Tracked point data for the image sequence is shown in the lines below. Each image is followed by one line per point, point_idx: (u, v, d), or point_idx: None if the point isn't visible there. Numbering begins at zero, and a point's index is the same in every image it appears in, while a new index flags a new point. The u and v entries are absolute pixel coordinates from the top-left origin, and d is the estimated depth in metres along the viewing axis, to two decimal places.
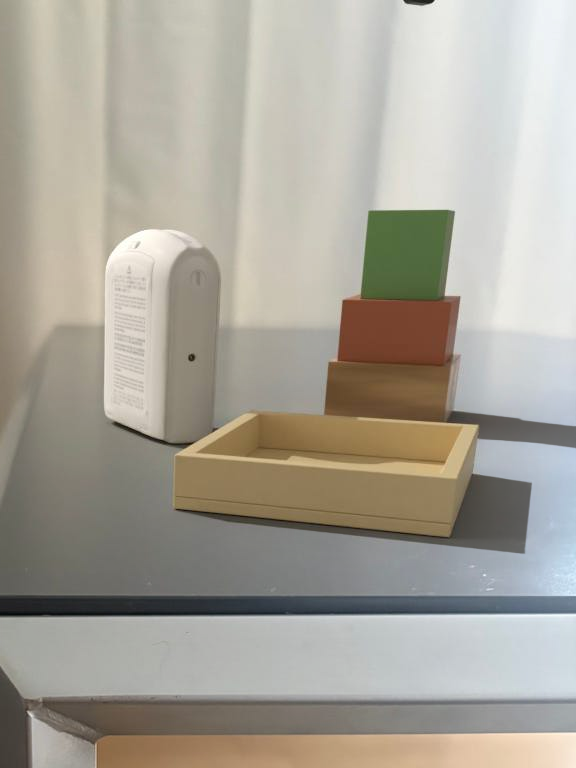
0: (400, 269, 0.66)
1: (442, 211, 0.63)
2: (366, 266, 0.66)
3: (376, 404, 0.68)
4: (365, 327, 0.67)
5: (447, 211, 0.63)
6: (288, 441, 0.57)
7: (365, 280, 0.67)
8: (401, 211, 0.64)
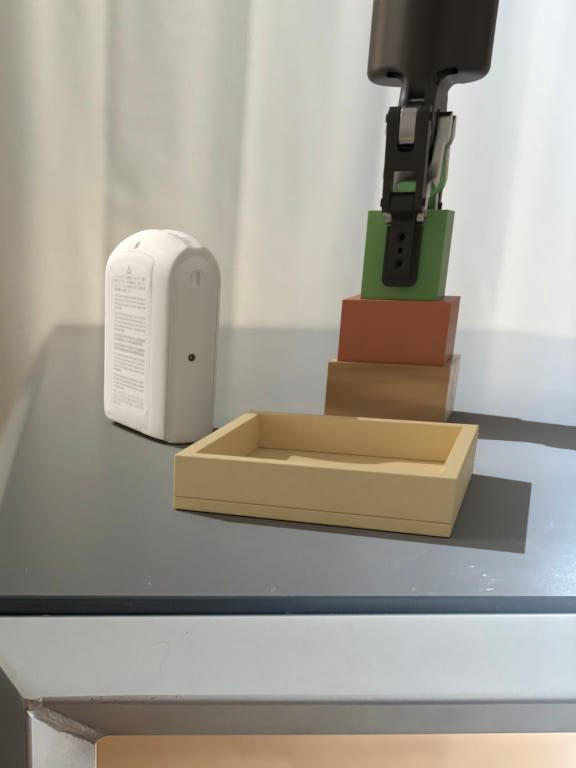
0: None
1: (442, 211, 0.63)
2: (365, 266, 0.66)
3: (376, 404, 0.68)
4: (365, 327, 0.67)
5: (447, 211, 0.63)
6: (288, 441, 0.57)
7: (364, 280, 0.67)
8: None
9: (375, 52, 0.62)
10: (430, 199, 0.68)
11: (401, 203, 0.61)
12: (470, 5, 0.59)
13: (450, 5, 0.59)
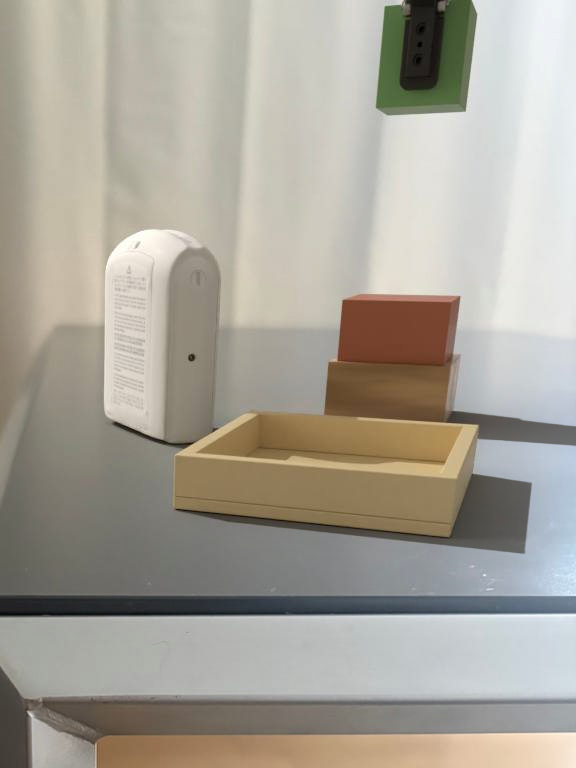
0: None
1: (465, 0, 0.59)
2: (381, 70, 0.62)
3: (376, 404, 0.68)
4: (365, 327, 0.67)
5: (470, 0, 0.59)
6: (288, 441, 0.57)
7: (380, 86, 0.62)
8: None
9: None
10: None
11: None
12: None
13: None
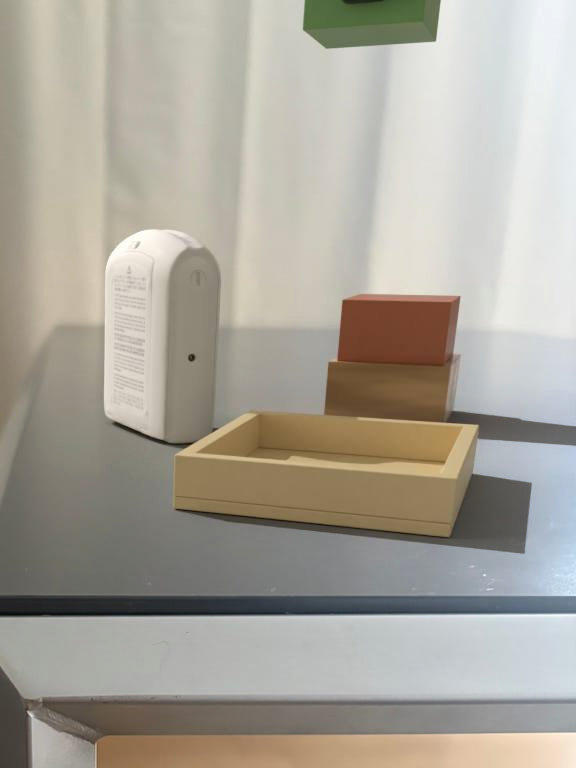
0: None
1: None
2: None
3: (376, 404, 0.68)
4: (365, 327, 0.67)
5: None
6: (288, 441, 0.57)
7: None
8: None
9: None
10: None
11: None
12: None
13: None
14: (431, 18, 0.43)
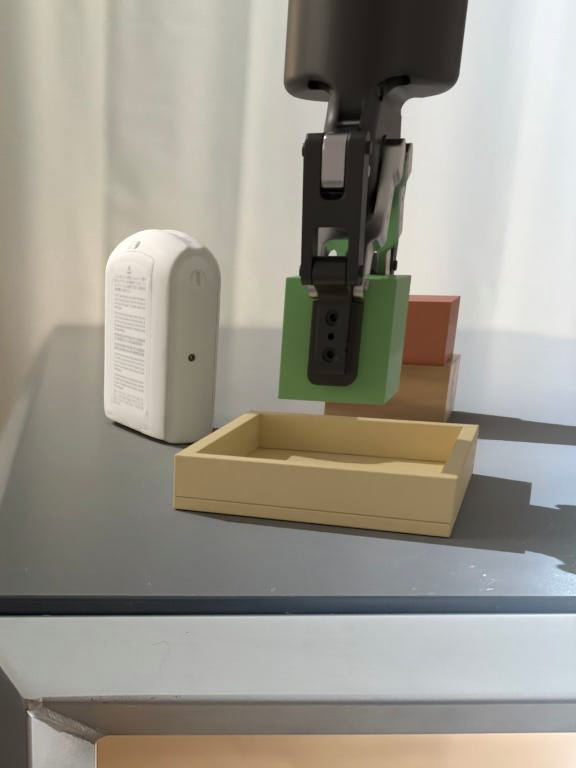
0: None
1: (389, 281, 0.44)
2: (284, 354, 0.47)
3: None
4: None
5: (396, 281, 0.44)
6: (288, 441, 0.57)
7: (283, 373, 0.47)
8: None
9: (292, 53, 0.43)
10: (378, 258, 0.48)
11: (328, 273, 0.42)
12: None
13: None
14: (392, 386, 0.48)
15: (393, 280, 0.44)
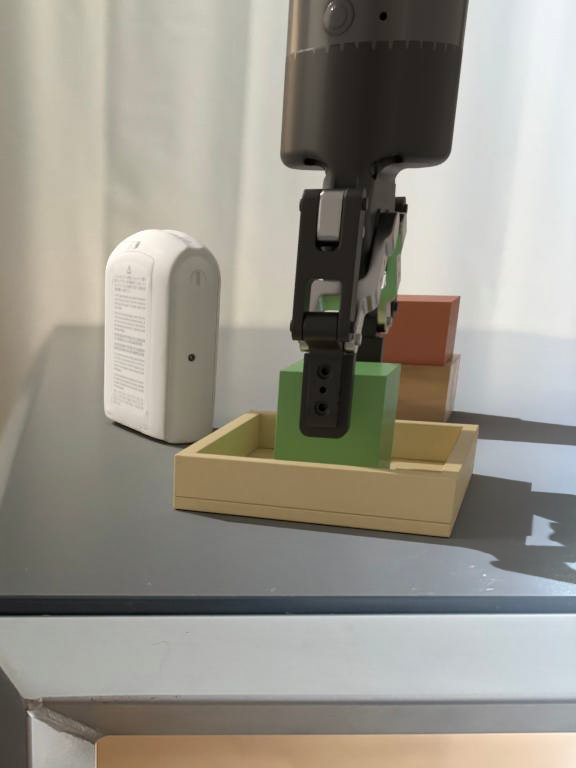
0: (324, 449, 0.48)
1: (379, 377, 0.46)
2: (278, 442, 0.49)
3: None
4: None
5: (386, 377, 0.46)
6: None
7: None
8: None
9: (289, 130, 0.44)
10: (378, 309, 0.50)
11: (319, 329, 0.42)
12: (418, 67, 0.41)
13: (389, 68, 0.40)
14: None
15: (383, 376, 0.46)
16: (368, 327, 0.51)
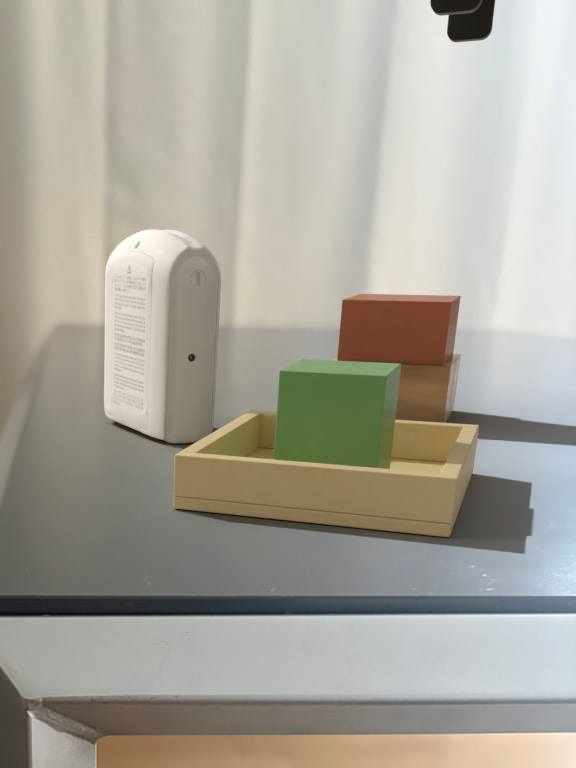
0: (324, 449, 0.48)
1: (379, 377, 0.46)
2: (278, 442, 0.49)
3: None
4: (365, 327, 0.67)
5: (386, 377, 0.46)
6: None
7: None
8: (324, 374, 0.47)
9: None
10: None
11: None
12: None
13: None
14: None
15: (383, 376, 0.46)
16: None
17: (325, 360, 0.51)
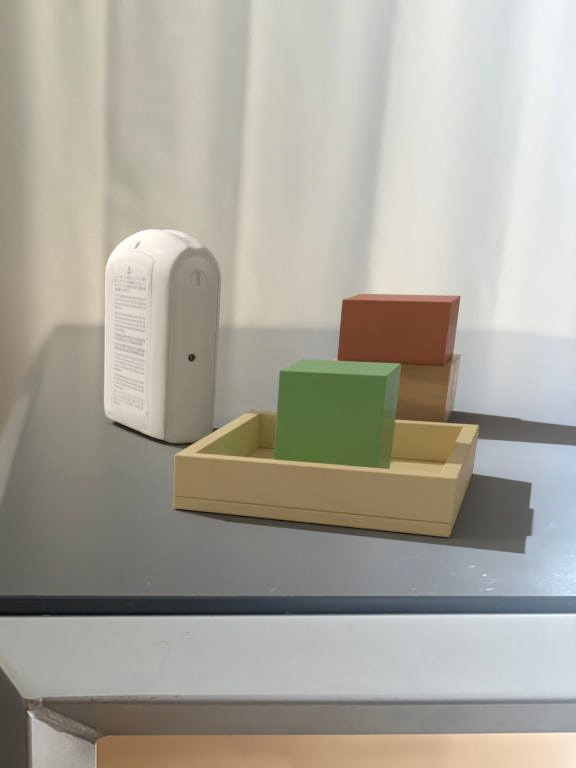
0: (324, 449, 0.48)
1: (379, 377, 0.46)
2: (278, 442, 0.49)
3: None
4: (365, 327, 0.67)
5: (386, 377, 0.46)
6: None
7: None
8: (324, 374, 0.47)
9: None
10: None
11: None
12: None
13: None
14: None
15: (383, 376, 0.46)
16: None
17: (325, 360, 0.51)
